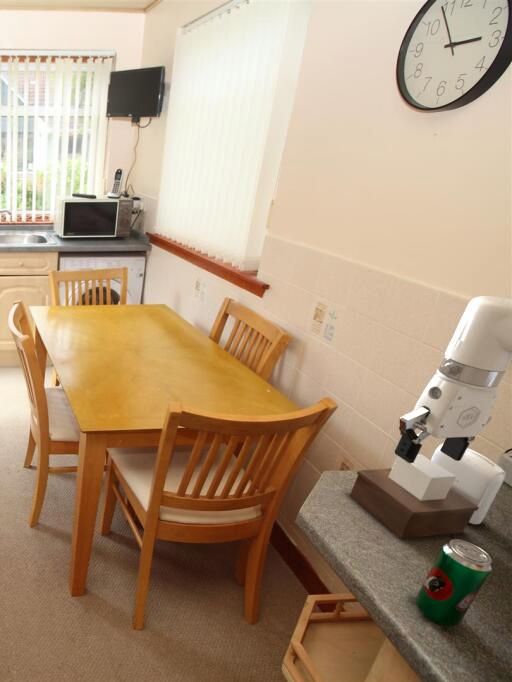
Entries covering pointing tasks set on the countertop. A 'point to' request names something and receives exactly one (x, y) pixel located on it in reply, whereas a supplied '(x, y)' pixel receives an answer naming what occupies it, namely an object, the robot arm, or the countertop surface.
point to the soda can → (453, 582)
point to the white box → (422, 478)
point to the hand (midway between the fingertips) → (426, 457)
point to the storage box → (410, 507)
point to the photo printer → (473, 479)
